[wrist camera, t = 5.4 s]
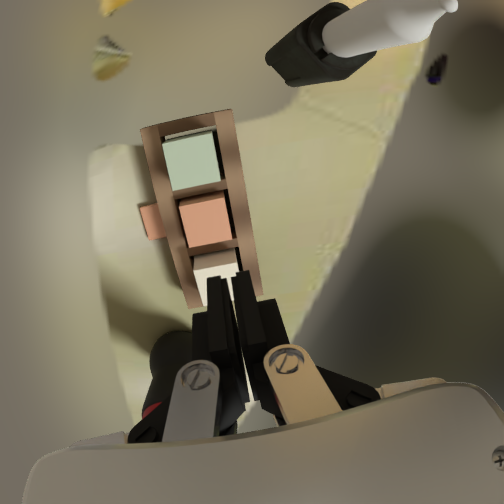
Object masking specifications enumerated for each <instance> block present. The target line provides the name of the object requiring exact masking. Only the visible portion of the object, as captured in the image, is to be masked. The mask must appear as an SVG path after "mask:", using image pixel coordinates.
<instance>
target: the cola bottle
mask: <svg viewBox="0 0 504 504" xmlns="http://www.w3.org/2000/svg"><path fill="white" fill-rule="evenodd" d="M190 362H192V333H189V332H185V331H174V332H170V333H167V334H165V335H163V336H162V337H161V338H159V339H158V341H157V342H156V343H155V345H154V347H153V349H152V351H151V354H150V370H151V373H152V376H153V379H152V382H151V385H150V387H149V390H148V393H147V396H146V399H145V402H144V405H143V409H142V419H143V418H145V417H146V416H147V415H148V414H149V413H150V412H151V411H153V410H154V409H155V408H156V407H157V406H158V405H159V404H161V403H162V402H163V401H164V400H165V399H166V398H167V397H168V396H170V395H171V394H172V392H173V388H174V383H175V379H176V376H177V373H178V371H179V370H180V369H181V368H182V367H183V366H184V365H186V364H187V363H190Z"/></svg>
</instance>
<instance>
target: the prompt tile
mask: <svg viewBox="0 0 504 504" xmlns="http://www.w3.org/2000/svg"><path fill="white" fill-rule="evenodd" d="M140 211H141V214H142V218H143V221H144V225H145V228H146V231H147V235H148V238H149V240H154V239H159V238H163V237H167V236H166V233H165V229H164V225H163V222H162V218H161V214H160V211H159V207H158V203H154V204H150V205H146V206H142V207H140Z"/></svg>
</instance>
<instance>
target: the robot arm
mask: <svg viewBox="0 0 504 504" xmlns="http://www.w3.org/2000/svg"><path fill="white" fill-rule="evenodd" d="M231 283H232V290H233V297H234V303H235V310H236V317H237V322H236V318H235V313H234V309H233V304H232V300H231V296H230V291H229V287H228V282H227V278H223V279H221V276H220V275H219V276H214V277H208V278H207V311H206V312H200V313H194V314H193V317H192V362H190V363H187V364H186V365H184V366H183V367H182V368H181V369H180V370H179V371H178V373H177V376H176V379H175V383H174V388H173V392H172V394H171V395H170V396H168V397H167V398H166V399H165V400H164V401H163V402H162V403H161V404H159V405H158V406H157V407H156V408H155V409H154V410H153V411H151V412H150V413H149V414H148V415H147V416H146V417H145V418H143V419H142V420H141V421H140V422H139V423H138V424H136V425H135V426H134V427H133V429H132V430H131V431H130V432H129V433H124V432H123V431H121V432H117V433H114V434H109V435H105V436H100V437H95V438H91V439H85V440H80V441H77V442H75V443H73V444H72V445H71V446H70V447H69V448H64V449H60V450H58V451H54V452H51V453H49V454H47V455H45V456H43V457H42V458H40V459H39V460H38V461H37V462H36V463H35V465H34V466H33V468H32V470H31V472H30V474H29V477H28V480H27V483H26V486H25V490H24V494H23V499H22V504H504V412H503V411H502V410H501V408H500V407H499V406H498V405H497V403H496V402H495V401H494V400H493V399H492V398H491V396H489V394H487V393H486V392H485V391H484V390H483V389H481V388H480V387H478V386H476V385H473V384H470V383H461V382H460V383H459V382H451V383H447V382H445V381H444V380H443V379H440V378H426V379H420V380H414V381H407V382H401V383H394V384H386V385H382V387H381V388H377V389H374V388H373V387H371V386H369V385H367V384H364V383H362V382H359V381H356V380H353V379H350V378H348V377H345V376H342V375H340V374H337V373H334V372H332V371H329V370H326V369H324V368H321V367H319V366H316V365H314V363H313V361H312V360H311V358H310V356H309V355H308V353H307V352H306V351H305V350H304V349H303V348H301V347H299V346H297V345H293V344H290V343H289V340H288V337H287V333H286V330H285V327H284V324H283V321H282V318H281V315H280V312H279V308H278V305H277V302H276V300H275V298H274V299H269V300H264V301H259V302H257V301H256V296H255V292H254V288H253V284H252V280H251V276H250V271H249V270H245V271H240V272H236V276H234V277H231ZM237 324H238V326H237ZM238 330H239V331H238ZM241 348H242V349H241ZM242 353H243V355H242ZM243 357H244V361H245V365H246V369H247V373H248V377H249V381H250V385H251V389H252V393H253V397H254V401H257V400H260V403H261V407H262V409H264V410H266V411H268V412H269V413H272V414H273V416H274V420H275V422H276V424H277V427H274V428H268V429H263V430H258V431H252V432H246V433H240V434H237V428H238V424H237V419H238V418H239V417H240V415H241V414H242V413H243V412H244V411H246V409H245V403H246V402H250V399H249V393H248V387H247V380H246V374H245V368H244V362H243Z"/></svg>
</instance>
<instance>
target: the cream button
mask: <svg viewBox="0 0 504 504" xmlns="http://www.w3.org/2000/svg"><path fill="white" fill-rule="evenodd" d="M193 271H194V275H195V279H196V282H197V286H198V289H199V293H200V296H201V300H202V303H203V306H207V278H208V277H214V276H219V275H220V276H221V279H223V278H227V282H228V287H229V291H230V296H231V300H232V301H234V297H233V290H232V283H231V277H234V276H236V272H239V268H238V263H237V258H236V253H235V248H229V249H224V250H218V251H213V252H208V253H203V254H198V255H195V256H194V269H193Z"/></svg>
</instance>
